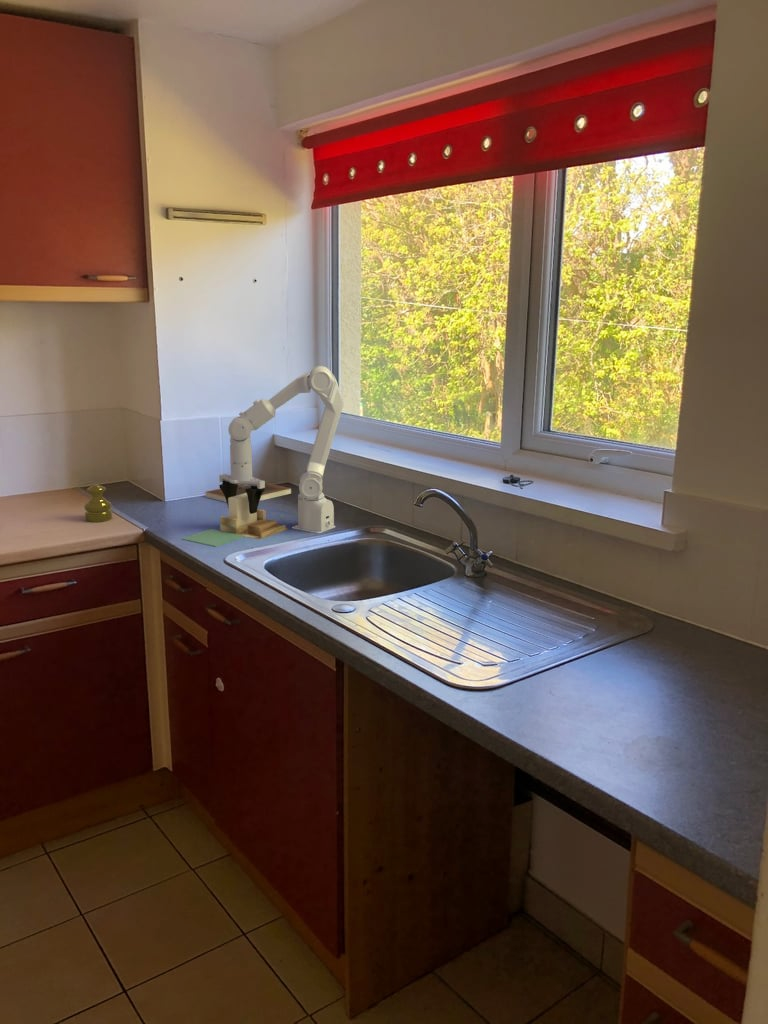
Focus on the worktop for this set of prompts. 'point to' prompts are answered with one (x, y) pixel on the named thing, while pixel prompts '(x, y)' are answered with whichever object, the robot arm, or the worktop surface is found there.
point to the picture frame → (268, 493)
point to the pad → (213, 537)
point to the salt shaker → (97, 505)
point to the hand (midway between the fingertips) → (242, 510)
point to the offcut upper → (262, 525)
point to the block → (241, 509)
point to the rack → (233, 526)
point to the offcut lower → (259, 532)
